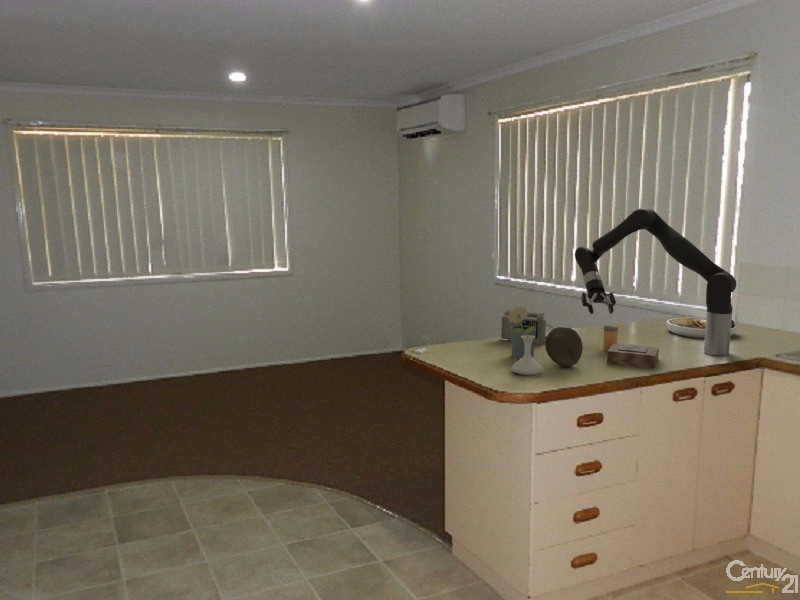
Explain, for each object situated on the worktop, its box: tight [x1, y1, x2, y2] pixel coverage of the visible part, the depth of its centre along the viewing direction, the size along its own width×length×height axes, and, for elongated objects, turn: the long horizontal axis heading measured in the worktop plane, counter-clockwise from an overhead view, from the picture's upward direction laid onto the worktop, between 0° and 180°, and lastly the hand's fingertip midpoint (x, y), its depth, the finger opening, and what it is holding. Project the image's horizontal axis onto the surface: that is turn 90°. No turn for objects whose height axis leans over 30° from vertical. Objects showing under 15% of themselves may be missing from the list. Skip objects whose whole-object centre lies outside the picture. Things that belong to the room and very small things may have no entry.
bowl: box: [666, 317, 738, 339], centre depth 298 cm, size 30×30×8 cm
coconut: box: [544, 326, 584, 368], centre depth 238 cm, size 14×14×15 cm
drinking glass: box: [510, 326, 536, 359], centre depth 253 cm, size 10×10×12 cm
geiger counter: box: [500, 309, 555, 345], centre depth 280 cm, size 14×6×25 cm
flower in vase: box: [508, 305, 544, 376], centre depth 226 cm, size 13×11×25 cm
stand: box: [606, 342, 660, 370], centre depth 245 cm, size 17×16×5 cm
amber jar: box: [602, 325, 619, 352], centre depth 264 cm, size 6×6×10 cm
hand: (602, 313), depth 273 cm, fingers open, 8 cm apart
